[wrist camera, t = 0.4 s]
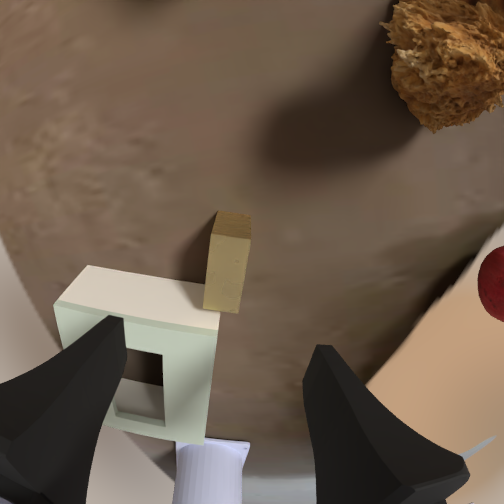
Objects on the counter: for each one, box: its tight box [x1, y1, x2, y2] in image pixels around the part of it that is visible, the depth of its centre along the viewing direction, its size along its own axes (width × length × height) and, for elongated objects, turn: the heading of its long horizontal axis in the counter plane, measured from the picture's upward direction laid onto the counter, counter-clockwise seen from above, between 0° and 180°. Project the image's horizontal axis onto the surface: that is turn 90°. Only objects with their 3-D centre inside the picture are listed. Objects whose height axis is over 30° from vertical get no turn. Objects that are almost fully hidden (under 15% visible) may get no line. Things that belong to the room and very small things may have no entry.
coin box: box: [53, 265, 220, 445], centre depth 21 cm, size 12×10×5 cm
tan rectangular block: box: [203, 211, 251, 313], centre depth 18 cm, size 4×2×4 cm, turn 171°
